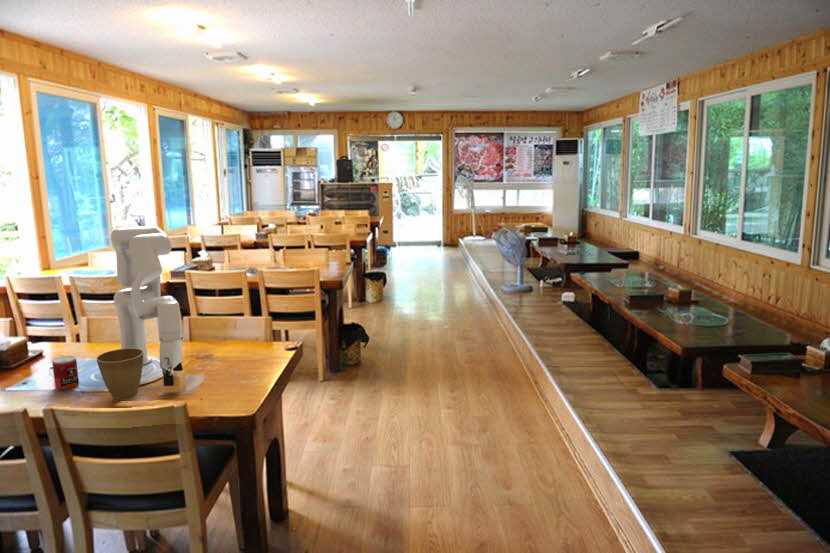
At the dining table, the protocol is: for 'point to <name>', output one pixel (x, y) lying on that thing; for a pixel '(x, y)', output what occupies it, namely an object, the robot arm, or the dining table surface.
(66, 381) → the canned food
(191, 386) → the junction board
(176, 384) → the wooden block
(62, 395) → the dining table surface
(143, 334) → the robot arm
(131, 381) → the plant pot
